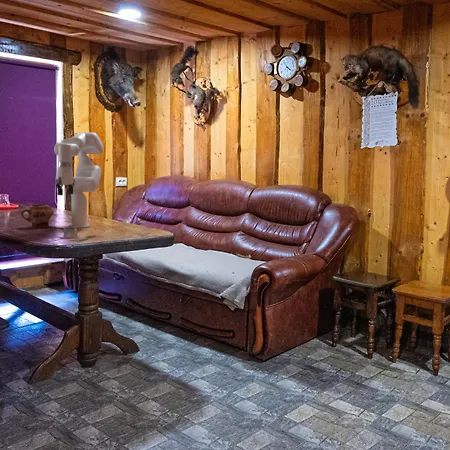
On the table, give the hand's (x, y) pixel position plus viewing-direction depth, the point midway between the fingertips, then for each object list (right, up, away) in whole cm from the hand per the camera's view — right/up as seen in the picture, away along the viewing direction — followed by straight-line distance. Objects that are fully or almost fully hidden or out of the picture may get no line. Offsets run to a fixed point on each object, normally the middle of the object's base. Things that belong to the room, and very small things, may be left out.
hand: (65, 194), depth 305 cm
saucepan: (+3, -24, -11) cm, 27 cm away
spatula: (+16, -25, -17) cm, 34 cm away
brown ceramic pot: (-24, -19, +21) cm, 37 cm away
